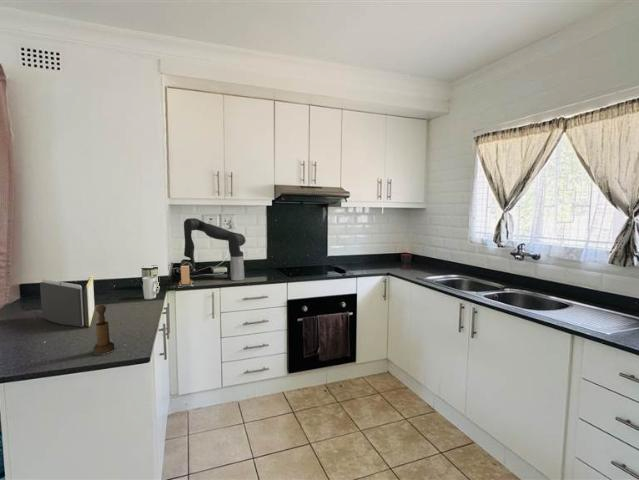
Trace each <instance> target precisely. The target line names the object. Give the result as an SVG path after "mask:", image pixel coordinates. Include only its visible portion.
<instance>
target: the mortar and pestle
mask: <svg viewBox="0 0 639 480" xmlns="http://www.w3.org/2000/svg"><path fill="white" fill-rule="evenodd" d="M106 310H107V307H106V306H105V305H103V304H101V305H98V306H96V312H97V314H98V318H97V321H98V323H96V324H95V326H96V327H95V328H96V341H97V343H96V344H95V345H94V347H93V349H92V350H93V354H94V353H96V354H103V353H107V352H110V351H112V350H114V351H115V344H114V342H112V341H110V329H109V322H108V321H106V316H105V313H106Z"/></svg>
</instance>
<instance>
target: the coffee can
mask: <svg viewBox="0 0 639 480" xmlns="http://www.w3.org/2000/svg"><path fill="white" fill-rule="evenodd" d="M140 269H142V270H141V281H143V278H144V277H155V280H158V267H153V268H141V267H140ZM157 287H158V286H157V284H156V290H157Z"/></svg>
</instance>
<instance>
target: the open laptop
mask: <svg viewBox="0 0 639 480" xmlns="http://www.w3.org/2000/svg"><path fill="white" fill-rule="evenodd" d="M39 286H40V287H39V291H40V304H41V318H43V319H45V320H47V321H49V322H52V323H55V324H59V325H66V326H73V327H84V325H85V326H86V327H90V326H91V323H92V319H93V317H94V313H95V292H94V291H95V290H94V288H95V287H94V274H93V273H92V274H90V277H89V278H88V280H87V282H86V284H85V286H84V289H83V287H82V286H81V284H76V283H68V282H63V281H57V280H52V279H46V278H42V279H41V282H39Z"/></svg>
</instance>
